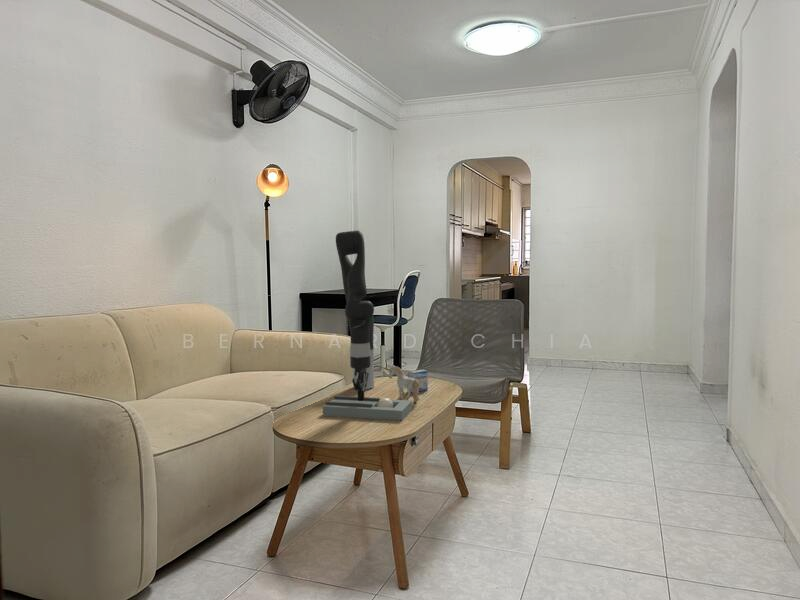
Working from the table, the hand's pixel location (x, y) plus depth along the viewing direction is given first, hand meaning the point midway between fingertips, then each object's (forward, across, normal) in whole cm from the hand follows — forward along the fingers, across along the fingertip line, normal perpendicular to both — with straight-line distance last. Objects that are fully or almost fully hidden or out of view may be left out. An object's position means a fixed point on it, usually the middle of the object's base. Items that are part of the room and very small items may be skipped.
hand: (361, 400), depth 218 cm
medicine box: (+5, -38, +14) cm, 41 cm away
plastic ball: (+2, 0, +9) cm, 10 cm away
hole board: (+4, 0, +3) cm, 5 cm away
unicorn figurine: (+5, -18, +10) cm, 22 cm away
